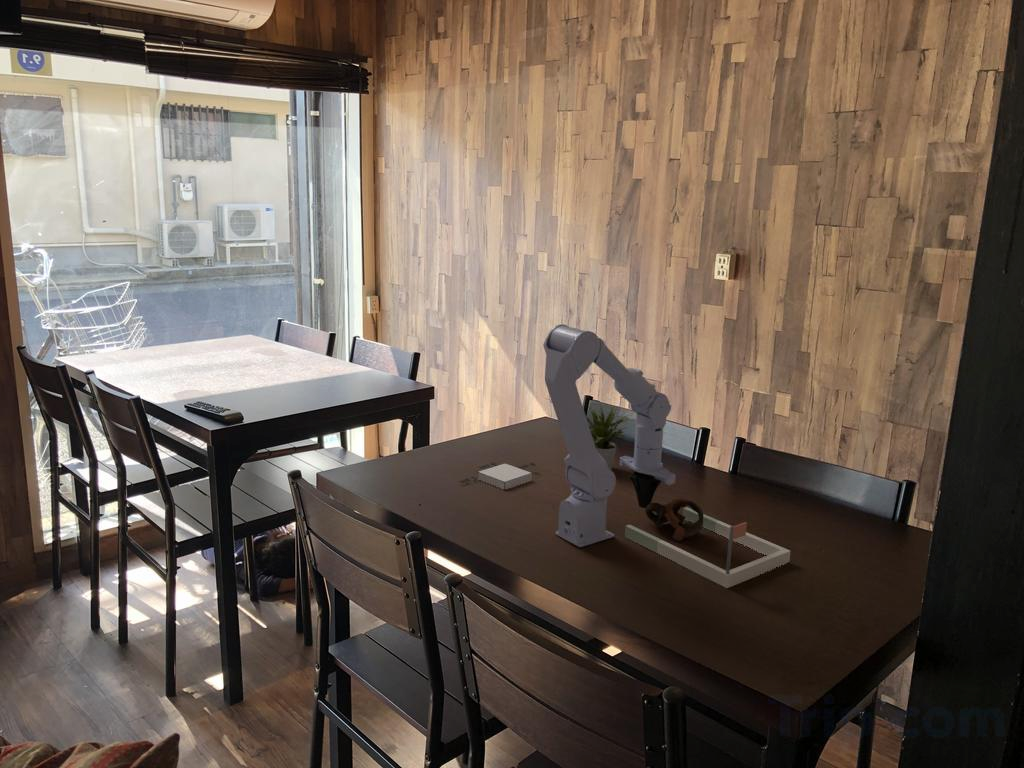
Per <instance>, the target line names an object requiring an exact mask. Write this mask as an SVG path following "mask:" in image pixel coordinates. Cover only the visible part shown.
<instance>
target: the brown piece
mask: <svg viewBox="0 0 1024 768" xmlns="http://www.w3.org/2000/svg"><path fill="white" fill-rule="evenodd" d="M687 506H688V507H689V508H690V509H692V510H693V511H695V512H697V513H698V515H699V519H698V521H697V522H695V523H690V522H685V520H684V519H685V518H686V517H685V516H683V514H681V513H679V511H680V509H681V508H686V507H687ZM644 511H645V514H646V517H647V518H648V519H649V520H650V521H651V522H652V523H653V524H654V525H655V527H656V528H659V527H661V526H662V525H663V524H665V523H668V522H669V524H670V525H671V526H672V527H673V528H674V529H675V531H674V533H673V534H672V539H673V540H675V541H677V540H679V541H678V542H681V541H682V540H683V538H685V539H686V538H689V537H692V536H695V535H696V534H698V533H700V530H702V529H703V528H702V526H703V514H704V512H703V511H702V509H701V507H700V506H699V505H698V504H697V503H696V502H694V501H693V500H689V499H686V498H676V499H674V500H672V501H670V502H668V503H666V504H661V503H659V502H651V503H650V504H648V505H647V507H646V508H644ZM654 512H655V513H656V514H655V513H654ZM679 523H681V524H679ZM682 523H683V524H684V525H683V524H682Z"/></svg>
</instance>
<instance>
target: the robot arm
mask: <svg viewBox="0 0 1024 768" xmlns="http://www.w3.org/2000/svg"><path fill="white" fill-rule="evenodd" d="M550 329H551V330H549V332H548V334H547V336H546V338H545V339H544V342H543V345H542V346H543V349H544V352H545V355H546V356H545V368H544V381H545V382H544V383H545V385H546V388H547V392H548V394H549V397H550V401H551V403H552V407H553V410H554V412H555V416H556V418H557V422H558V424H559V425H558V426H559V428H560V432H561V434H562V437H563V440H564V443H565V446H566V449H567V452H568V454H567V456H566V457H565V458H564V460H563V461H564V465H565V471H564V472H565V473H564V477H565V480H566V482H567V483H568V485H570V487H569V491H571V493H570V495H569V496H568V497H567V498H566V499H564V500H562V501H560V504H559V507H558V526H557V531H555V535H557V536H558V537H560V538H562V539H564V540H566V541H567V542H569V543H571V544H572V545H574V546H577V547H579V548H583V547H586V546H590V545H593V544H596V543H598V542H601V541H606V540H609V539H612V538H614V537H615V534H614V533H613V532H610V531H608V530H607V529H606V527H607V526H606V524H607V505H608V504H607V503H608V499H609V498H610V496H611V494H612V493H613V492H614V490H615V488H616V484H617V479H616V478H617V477H616V475H615V473H614V471H612V469H611V470H610V469H609V468H608V465H607V462H606V461H605V460H604V458H603V457H602V456H601V455H600V454H599V453H598V451H597V450H596V447H595V444H594V437H593V436H592V435H591V431H590V429H591V428H590V426H589V422H588V421H587V419H586V417H587V416H586V412H585V410H584V406H583V403H582V399H581V396H580V393H579V390H578V387H577V384H576V383H577V381H578V380H579V379H581V377H582V376H583V375H584V373H585V372H586V371H587V370H588V369H589V367H590V366H591V365H592V364H595V366H597V367H598V368H599V369H601V371H603V372H604V373H605V374H607V376H608V377H610V378H611V379H612V380H614V381H613V385H614V390H615V391H617V392H618V394H619V395H621V396H622V397H623V398H624V399H625V400H626V401H627V402H628V403H629V404H630V409H631V411H632V412H634V413H636V414H635V419H636V420H635V435H634V449H633V456H628V455H624V456H620V457H619V466H620V467H622V468H624V467H626V468H628V469H631V470H633V471H634V472H633V473H630V474H629V478H630V481H631V483H632V484H633V487H634V489H635V493H636V497H637V502H638V506H639V507H640V508H642V509H645V508H646V507H647V505H648V504H650V503H652V501H653V498H654V495H655V493H656V491H657V489H658V487H659V485H660V484H661V483H662V482H664V483H665V484H664V485H667V486H671V485H674V484H676V477H677V475H676V474H675V473H673V472H671V471H669V470H668V469H667V468H665V467H664V466H663V465H664V463H663V462H662V454H663V453H662V451H663V450H662V449H663V448H662V447H663V438H664V437H663V436H664V427H665V426H666V422H667V418H668V416H669V414H670V412H671V411H672V405H671V404H670V400H669V398H668V396H667V395H666V394H665V393H662V392H659V391H657V389H656V385H655V384H654V383H653V382H649V381H648V380H647V379H646V378H645V377H644V376H643V375H644V372H643V371H642V370H641V369H638V368H633V367H630V368H629V367H628V368H627V367H626V366H625V365H624V364H623V363H622V362H621V360H619V358H617V356H616V354H614V352H612V351H611V350H610V349H609V347H608V346H607V345H606V343H605V340H603V339H602V338H600V337H598V335H597V333H595V332H593V331H590V330H583V329H578V328H576V327H572V326H571V327H570V326H569V325H567V324H557V325H555V326H554V327H552V328H550Z"/></svg>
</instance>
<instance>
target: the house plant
mask: <svg viewBox="0 0 1024 768" xmlns="http://www.w3.org/2000/svg"><path fill="white" fill-rule="evenodd" d="M599 407H600V415H597V413H596V412H595V411H594V410H593V409H592V408H590V407H589V410H590V413H591V417H592V421H591V420H590V419H589V417H588V416H586V419H587V422H588V424H590V426H591V427H592V428H590V431H591V435H592V438H593V441H594V440H595V441H594V444H595V447H596V450H597V451H598V453H599V454H600V455H601V456H602V457H603V458H604V460H605V461H606V462H607V465H608V468H609V469H610V470H611V471H612V469H613V466H614V465H613V464H614V461H615V456H616V452H617V448H618V446H617V444H616V443H614V441H615V440H616V439H618V438H619V437H621V438H623V439H624V440H626V437H625V435H623V433H624V434H625V432H624V431H623V430H624V429H626V427H621V428H620V429H618V428H617V427H618V426H619V425H620V424H621V423H624V422H627V421H629V418H627V417H631V416H632V414H628V415H624V416H621V418H619V419H618V420H616V421H615V422H614V419H615V414H616V412H617V409H615V410H614V406H612V407H611V409H610V411H609V413H608V415H607V416H606V419H605V415H604V412H603V411H604V410H603V408H602V406H599ZM616 430H617V431H616ZM614 437H615V438H614Z"/></svg>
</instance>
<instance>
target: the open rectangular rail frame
mask: <svg viewBox="0 0 1024 768" xmlns="http://www.w3.org/2000/svg"><path fill="white" fill-rule="evenodd" d="M682 515H683V516H685V517H686V518H685V520H684V521H686V520H687V521H686V522H688V521H690V522H692V523H695V522H697V521H698V519H699V515H698V513H697V512H695V511H693V510H692V508H691V507H689V506H688V507H687V506H685V507H682ZM690 522H689V523H690ZM747 525H748V522H746V521H745V522H742V523H738V524H736V525H730V524H729V523H728V524H727V523H726V522H723V521H721V520H718V519H717V518H714V517H711V516H709V515H707V514H704V513H703V526H702V527H704V528H706V529H708V530H707V531H709V530H711V531H713V532H715V533H717V534H716V535H718V534H719V535H718V536H720V535H722V536H724V537H726V538H725V539H727V538H728V539H727V540H728V544H727V545H728V546H727V555H726V556H727V558H726V568H725V569H723V568H721V567H720V566H717V565H715V564H713V563H711V562H709V561H706V560H705V559H702V557H701V558H700V557H699V556H696V555H694V554H693V553H690V552H688V551H686V550H684V549H682V548H680V547H677V546H676V545H673V544H671V543H669V542H667V541H665V540H662V539H661V538H658V537H656V536H655V535H653V534H650V533H649V532H646V531H644V530H642V529H640V528H638V527H636V526H633V525H631V524H627V525H625V530H624V531H625V532H624V538H625V539H627V540H630V541H632V542H634V543H635V544H637V543H638V545H640V546H641V545H642V547H643V546H644V548H645V547H646V549H647V548H648V550H649V549H650V550H649V551H651V550H652V552H653V551H654V553H655V552H656V554H657V553H658V554H657V555H659V554H660V556H661V555H662V556H661V557H663V556H664V558H665V557H666V559H667V558H668V560H669V559H670V560H669V561H671V560H672V562H673V561H674V562H673V563H675V562H676V563H675V564H678V565H680V566H681V567H683V568H685V569H688V570H689V571H691V572H693V573H696V574H697V575H699V576H702V577H704V579H705V578H706V579H707V580H710V581H712V582H713V583H716V584H717V585H719V586H722V587H724V588H726V589H728V588H731V587H734V586H736V585H739V584H741V583H743V582H746V581H748V580H750V579H753V578H756V577H758V576H760V574H761V575H763V574H765V572H766V573H768V572H770V571H773V570H775V569H777V568H776V567H778V568H780V567H782V566H781V565H783V566H785V565H787V564H786V563H788V562H789V563H790V561H791V560H790V559H791V550H789V549H787V548H785V547H782V546H780V545H777V544H775V543H773V542H771V541H768V540H766V539H763V538H761V537H758V536H757V535H754V534H751V533H749V532H748V531H747ZM704 528H703V529H704ZM706 529H705V530H706ZM711 531H710V532H711ZM713 532H712V533H713ZM715 533H714V534H715ZM722 536H721V537H722ZM724 537H723V538H724ZM732 540H733V541H732ZM734 541H735V542H734ZM733 542H734V543H736V542H738V543H740V544H743V545H744V546H743V545H742V546H743V547H745V546H747V547H749V548H751V549H750V550H752V549H753V550H752V551H754V550H755V551H754V552H756V551H757V552H756V553H759V554H761V553H762V554H761V555H763V554H764V555H763V557H760V558H757V559H755V560H752V561H750V562H748V563H745V564H743V565H740V566H736V567H735V568H731V558H732V549H733ZM738 543H737V544H738ZM740 544H739V545H740ZM747 547H746V548H747ZM749 548H748V549H749ZM765 555H767V556H765ZM789 563H788V564H789ZM784 564H785V565H784ZM779 566H780V567H779ZM730 568H731V569H730ZM774 568H775V569H774ZM772 569H773V570H772ZM767 571H768V572H767Z"/></svg>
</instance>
